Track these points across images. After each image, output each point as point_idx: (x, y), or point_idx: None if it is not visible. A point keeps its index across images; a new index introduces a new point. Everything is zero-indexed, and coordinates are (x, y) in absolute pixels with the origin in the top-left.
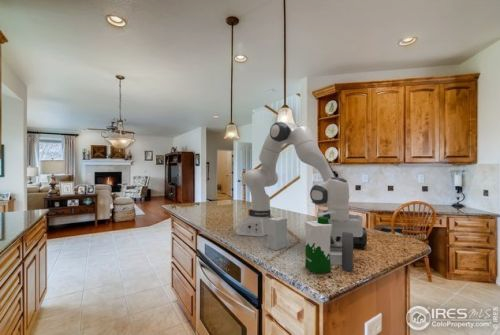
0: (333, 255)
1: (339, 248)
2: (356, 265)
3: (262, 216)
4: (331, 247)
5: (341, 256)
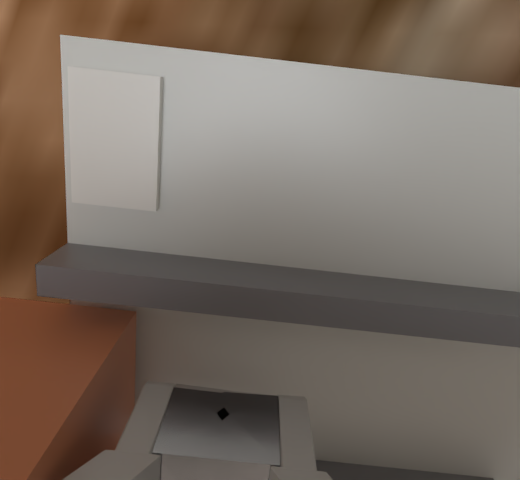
0: (481, 83)
1: None
2: None
3: None
4: None
5: (301, 66)
